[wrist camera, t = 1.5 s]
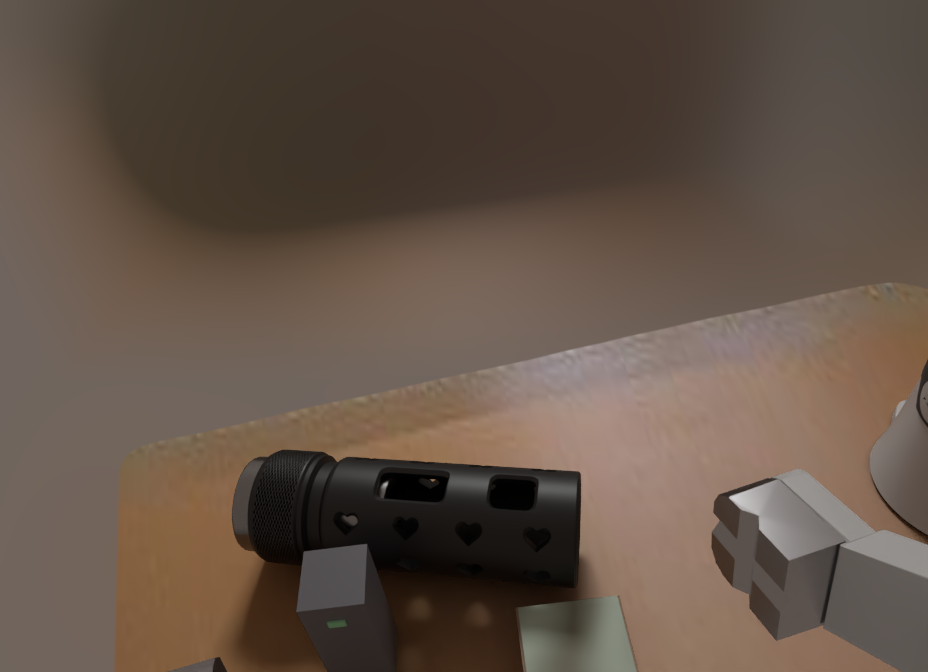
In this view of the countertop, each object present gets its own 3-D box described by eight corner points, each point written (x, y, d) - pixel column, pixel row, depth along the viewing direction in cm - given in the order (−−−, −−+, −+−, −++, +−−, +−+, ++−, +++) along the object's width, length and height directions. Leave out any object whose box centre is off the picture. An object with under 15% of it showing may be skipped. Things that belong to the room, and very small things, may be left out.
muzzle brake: (576, 620, 55) (575, 547, 49) (253, 586, 61) (213, 516, 54) (581, 519, 62) (581, 443, 56) (291, 496, 68) (259, 425, 61)
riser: (617, 615, 55) (619, 592, 53) (644, 723, 49) (647, 702, 47) (517, 627, 55) (514, 605, 53) (531, 736, 49) (529, 716, 47)
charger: (396, 620, 57) (367, 537, 49) (396, 686, 53) (364, 605, 45) (342, 627, 57) (304, 544, 49) (337, 692, 53) (296, 614, 45)
